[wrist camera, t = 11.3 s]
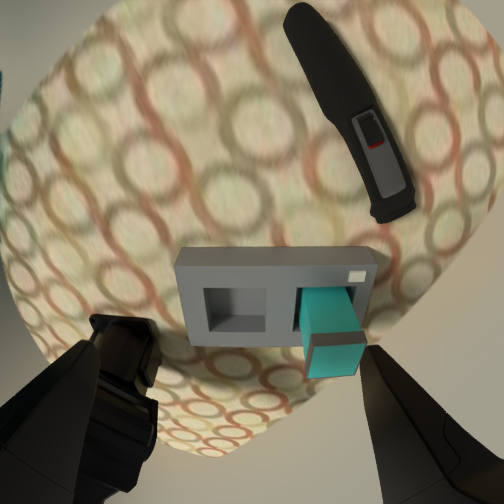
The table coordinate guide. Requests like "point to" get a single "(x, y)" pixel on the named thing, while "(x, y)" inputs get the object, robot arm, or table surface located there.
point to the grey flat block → (263, 290)
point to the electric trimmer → (351, 111)
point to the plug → (329, 332)
